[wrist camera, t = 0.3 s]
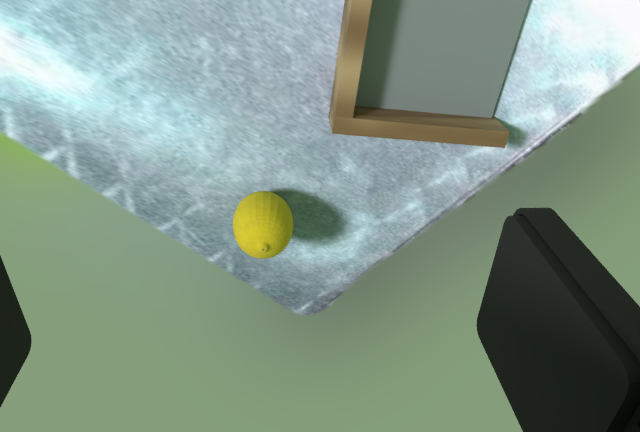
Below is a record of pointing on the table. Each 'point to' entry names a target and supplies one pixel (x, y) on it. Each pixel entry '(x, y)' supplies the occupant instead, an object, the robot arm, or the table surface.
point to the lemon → (263, 224)
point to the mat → (438, 54)
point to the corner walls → (394, 121)
